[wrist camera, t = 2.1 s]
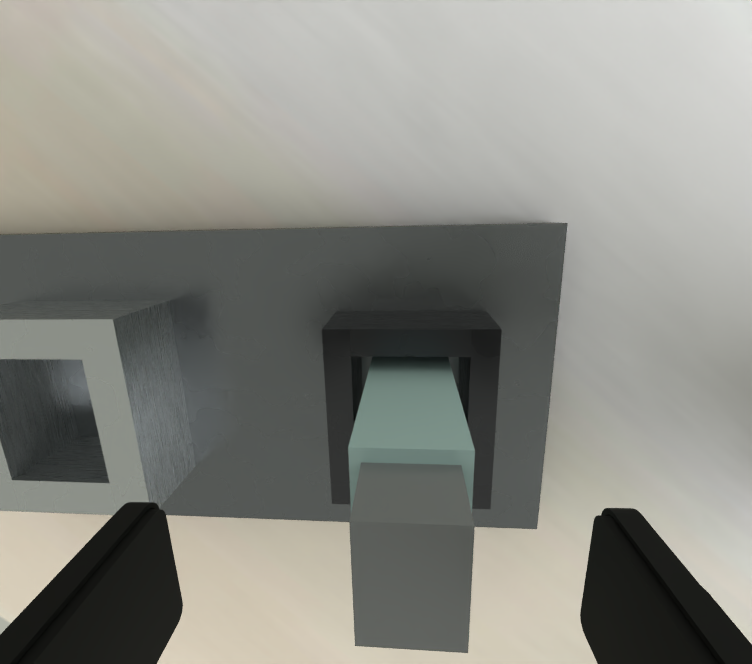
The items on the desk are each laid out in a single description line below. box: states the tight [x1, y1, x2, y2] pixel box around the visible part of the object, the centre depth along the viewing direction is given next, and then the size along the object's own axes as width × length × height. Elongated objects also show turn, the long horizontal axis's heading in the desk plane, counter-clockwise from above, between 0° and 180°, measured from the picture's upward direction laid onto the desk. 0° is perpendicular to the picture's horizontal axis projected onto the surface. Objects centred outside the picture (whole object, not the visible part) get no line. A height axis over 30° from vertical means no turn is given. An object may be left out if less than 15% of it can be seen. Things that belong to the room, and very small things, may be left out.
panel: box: [0, 223, 567, 529], centre depth 17 cm, size 26×14×5 cm, turn 91°
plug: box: [348, 357, 475, 653], centre depth 13 cm, size 3×4×10 cm
